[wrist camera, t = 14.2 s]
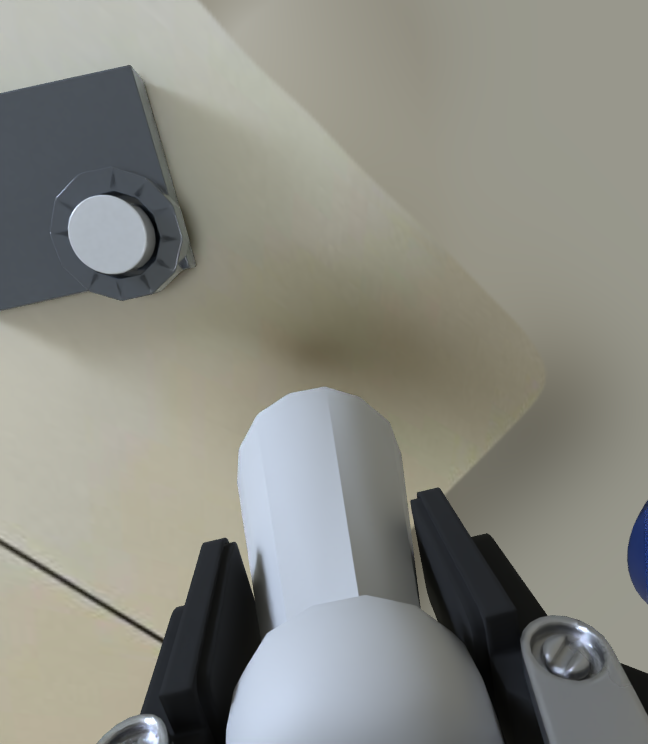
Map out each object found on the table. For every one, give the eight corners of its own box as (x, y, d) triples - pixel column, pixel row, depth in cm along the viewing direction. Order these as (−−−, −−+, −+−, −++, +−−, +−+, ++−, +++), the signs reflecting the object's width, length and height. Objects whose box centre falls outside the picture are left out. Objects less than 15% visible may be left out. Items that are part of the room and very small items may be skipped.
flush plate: (150, 77, 27) (127, 48, 23) (207, 279, 30) (196, 284, 26) (-94, 130, 26) (-159, 110, 23) (-9, 328, 30) (-54, 340, 26)
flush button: (142, 191, 25) (132, 186, 23) (165, 264, 26) (156, 265, 24) (71, 207, 25) (55, 204, 23) (96, 279, 26) (83, 281, 24)
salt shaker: (219, 403, 18) (59, 777, 5) (356, 348, 18) (529, 596, 5) (279, 523, 19) (265, 1031, 7) (405, 473, 19) (627, 899, 7)
